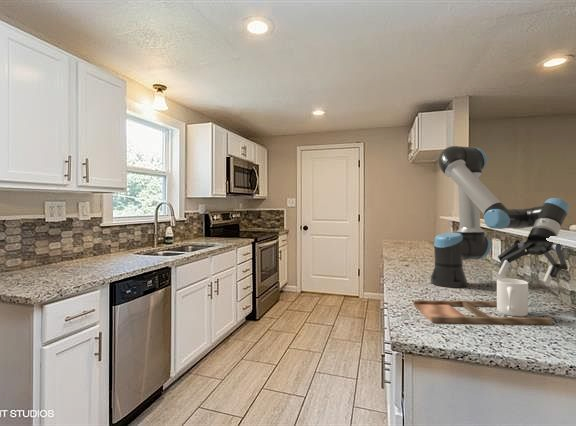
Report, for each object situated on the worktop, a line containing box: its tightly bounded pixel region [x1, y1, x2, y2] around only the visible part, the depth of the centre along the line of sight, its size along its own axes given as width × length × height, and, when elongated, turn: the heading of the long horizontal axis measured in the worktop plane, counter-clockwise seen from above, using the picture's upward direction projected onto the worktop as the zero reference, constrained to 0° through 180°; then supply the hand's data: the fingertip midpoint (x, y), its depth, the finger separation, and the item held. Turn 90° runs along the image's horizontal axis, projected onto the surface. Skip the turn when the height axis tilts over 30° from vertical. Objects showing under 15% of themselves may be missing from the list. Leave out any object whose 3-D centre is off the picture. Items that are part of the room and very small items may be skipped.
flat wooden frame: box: [412, 299, 553, 325], centre depth 105 cm, size 35×18×2 cm, turn 85°
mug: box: [496, 278, 529, 317], centre depth 104 cm, size 9×12×11 cm
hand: (521, 279), depth 106 cm, fingers open, 13 cm apart
